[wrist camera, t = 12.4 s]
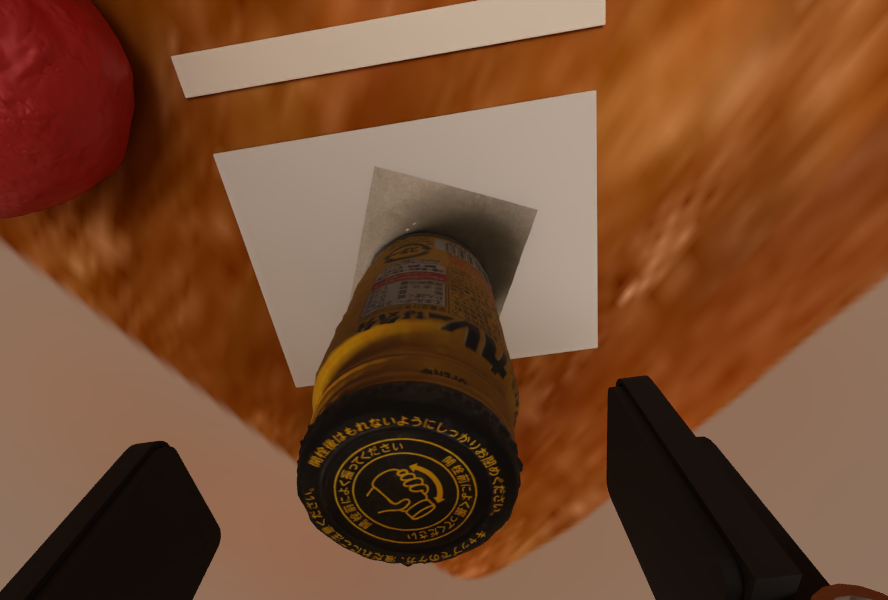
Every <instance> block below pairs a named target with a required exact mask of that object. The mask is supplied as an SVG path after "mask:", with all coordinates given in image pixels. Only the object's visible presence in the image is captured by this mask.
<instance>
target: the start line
mask: <svg viewBox="0 0 888 600" xmlns="http://www.w3.org/2000/svg"><path fill="white" fill-rule="evenodd" d="M602 25H605V0H478V1H473V2H467V3H462V4H456V5H451V6H445V7H440V8H434V9H429V10H423V11H417V12H412V13H406V14H401V15H395V16H390V17H384V18H379V19H373V20H368V21H362V22H357V23H351V24H346V25H340V26H335V27H329V28H324V29H318V30H313V31H307V32H302V33H296V34H291V35H285V36H280V37H274V38H269V39H263V40H258V41H252V42H247V43H241V44H236V45H230V46H225V47H219V48H214V49H208V50H203V51H197V52H192V53H186V54H181V55H175V56H171V59H172V62H173V65H174V67H175V70H176V73H177V76H178V78H179V81H180V84H181V87H182V89H183V92H184V95H185V98H192V97H197V96H203V95H209V94H214V93H220V92H226V91H232V90H237V89H243V88H249V87H254V86H260V85H266V84H271V83H277V82H283V81H289V80H294V79H300V78H306V77H311V76H317V75H323V74H329V73H334V72H340V71H346V70H351V69H357V68H363V67H368V66H374V65H380V64H386V63H391V62H397V61H403V60H408V59H414V58H420V57H425V56H431V55H437V54H443V53H448V52H454V51H460V50H465V49H471V48H477V47H482V46H488V45H494V44H500V43H505V42H511V41H517V40H522V39H528V38H534V37H540V36H545V35H551V34H557V33H562V32H568V31H574V30H579V29H585V28H591V27H597V26H602Z"/></svg>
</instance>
